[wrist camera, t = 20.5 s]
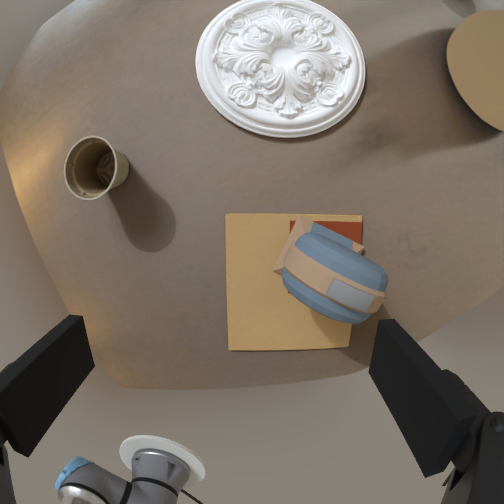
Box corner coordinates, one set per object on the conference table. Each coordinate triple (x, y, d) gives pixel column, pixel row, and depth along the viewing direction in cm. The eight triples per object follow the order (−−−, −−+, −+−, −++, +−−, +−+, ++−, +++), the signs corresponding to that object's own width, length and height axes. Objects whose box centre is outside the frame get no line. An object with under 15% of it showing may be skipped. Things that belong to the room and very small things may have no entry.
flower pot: (146, 150, 45) (126, 144, 37) (128, 204, 47) (105, 209, 39) (100, 136, 44) (75, 129, 36) (84, 187, 46) (57, 190, 38)
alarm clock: (266, 267, 49) (274, 313, 31) (292, 212, 47) (316, 229, 29) (342, 300, 50) (380, 352, 33) (368, 248, 48) (421, 282, 31)
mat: (347, 345, 53) (348, 347, 52) (228, 348, 53) (228, 350, 52) (361, 215, 47) (362, 216, 47) (225, 213, 47) (225, 214, 47)
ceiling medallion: (196, 1, 39) (193, -7, 36) (351, 2, 38) (355, -6, 35) (198, 143, 45) (195, 140, 42) (371, 139, 45) (379, 137, 41)
